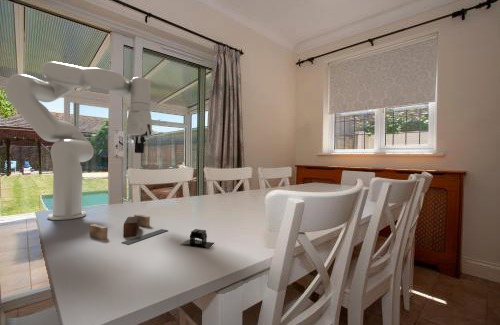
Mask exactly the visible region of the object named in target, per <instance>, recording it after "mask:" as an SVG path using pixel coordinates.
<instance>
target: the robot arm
mask: <svg viewBox="0 0 500 325" xmlns="http://www.w3.org/2000/svg"><path fill="white" fill-rule="evenodd" d="M41 72H42V75H43V77H44V78H45V79H46V80H47V81H44V80H42V79H38V78H37V77H34V76H31V75H28V74H22V73H21V74H19V73H18V74H13V75H11V76H10V77H9V78H8V79H7V81H6V83H5V94H6V98H7V100H8V101H9V103H10V104H11V106H12V107H13V108H14V109H15V110H16V111H17V112H18V114H20V115H21V116H22V117H23V119H24V120H25V121H26V122H27V124H28V125H29V126H30V127H31V129H33V130H34V131H35V133H36V134H37V135H38V136H39V137H40V138H41V139H42V140H43V141H46V142H50V143H53V144H52V146H51V149H50V158H51V161H52V169H53V170H52V171H53V172H52V174H53V175H52V176H53V177H52V179H53V180H52V206H51V207H50V208H51V210H52V213H49V214H48V215H47V219H48V220H52V221H66V220H74V219H79V218H83V217H85V216H86V215H87V212H86V211H85V210H83V209H82V207H83V206H82V204H83V202H82V200H83V168H82V165H81V163H84V162H89V161H90V160H91V159H92V158H93V157H94V154H95V153H94V152H95V150H94V147H93V145H92V144H91V142H90V141H89V140H88V139H87V137H86V136H85V135H84V134H83V133H82V132H81V131H80V130H79V128H78V127H76V126H75V125H74V124H72V123H71V122H69V121H66V120H61V119H58V118H57V117H55V116H54V115H53V113H52V112H51V111H49V109H48V108H47V107H46V106H45V105H44V104H43V103H52V102H54V101H57V100H58V99H60V98H61V97H63V96H65V95H67V94H69V93H70V92H73V90H75V89H80V90H89V89H91V88H97V89H103V90H107V91H110V92H113V93H114V94H116V95H118V96H120V97H122V98H130V105H129V106H130V108H129V111H128V116H127V122H126V134H127V136H129V140H130V139H131V140H133V143H134V154H144V152H145V143H146V140H149V139H150V138H151V136H152V133H153V123H152V122H153V119H152V113H151V93H152V92H151V91H152V90H151V89H152V88H151V87H152V85H151V84H152V83H151V81H150V80H149V78H145V77H140V76H136V77H135V76H134V77H133V78H131V80H130V79H129V78H126V77H125V76H124V75H123V74H121V73H119V72H117V71H114V70H110V69H105V68H101V67H100V68H99V67H83V66H78V65H74V64H69V63H63V62H59V61H47V62H45V63H44V64H43V65H42V66H41ZM42 102H43V103H42Z"/></svg>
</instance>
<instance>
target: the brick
mask: <svg viewBox="0 0 500 325" xmlns="http://www.w3.org/2000/svg"><path fill="white" fill-rule="evenodd" d="M139 221H140V220H139V217H134V216H128V217H127V218H126V219H125V221H124V222H123V228H122V230H123V231H122V232H123V234H122V235H123V236H122V237H123V238H131V237H133V238H135V237H137V234H138V232H139V229H140V225H139Z"/></svg>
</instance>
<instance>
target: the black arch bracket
mask: <svg viewBox="0 0 500 325" xmlns="http://www.w3.org/2000/svg"><path fill="white" fill-rule="evenodd" d="M207 238H208V233H207V230H206V229H197V228H195V229H193V230H192V231H190V234H189V239H187V240H185V241H184V242H182V243H180V244H179V246H184V247H190V248H198V249H205V250H209V249H211V248H212V247H213V246H214V245H215V244H214V243H215V242H211V241H207ZM213 244H214V245H213ZM212 245H213V246H212ZM211 246H212V247H211ZM210 247H211V248H210Z"/></svg>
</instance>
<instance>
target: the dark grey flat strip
mask: <svg viewBox="0 0 500 325" xmlns="http://www.w3.org/2000/svg"><path fill="white" fill-rule="evenodd" d="M165 232H169V230H167V229H163V228H161V229H158V230H155V231H152V232H149V233H145V234H142V235H139V236H135V237H133V238H131V239H127V240H124V241H121V244H125V245H129V246H130V245H131V244H135V243H137V242H140V241H144V240H146V239H148V238H152V237H154V236H157V235H161V234H163V233H165Z"/></svg>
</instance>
